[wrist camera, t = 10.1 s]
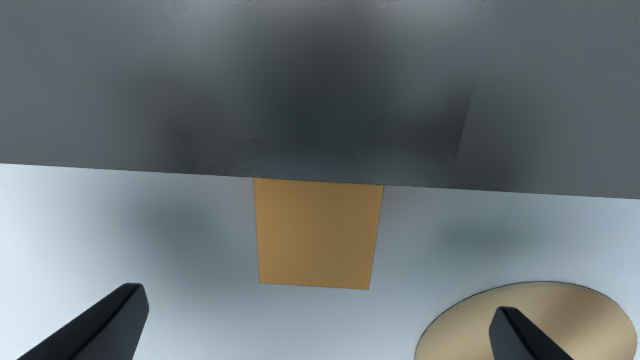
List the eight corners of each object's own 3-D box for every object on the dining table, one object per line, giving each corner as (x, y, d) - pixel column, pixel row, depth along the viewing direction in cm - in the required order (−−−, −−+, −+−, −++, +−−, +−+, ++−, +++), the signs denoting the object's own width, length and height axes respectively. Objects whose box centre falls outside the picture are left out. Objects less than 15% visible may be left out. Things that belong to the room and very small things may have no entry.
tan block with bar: (419, -225, 9) (457, -316, 6) (363, 229, 15) (368, 289, 12) (262, -232, 9) (225, -323, 6) (274, 224, 15) (259, 282, 12)
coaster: (673, 289, 16) (681, 296, 15) (581, 417, 21) (585, 425, 21) (435, 274, 16) (438, 281, 16) (401, 405, 21) (402, 413, 21)
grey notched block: (638, -53, 10) (837, -62, 6) (567, 124, 12) (675, 201, 8) (43, -79, 10) (-146, -105, 6) (92, 99, 13) (-21, 162, 9)
